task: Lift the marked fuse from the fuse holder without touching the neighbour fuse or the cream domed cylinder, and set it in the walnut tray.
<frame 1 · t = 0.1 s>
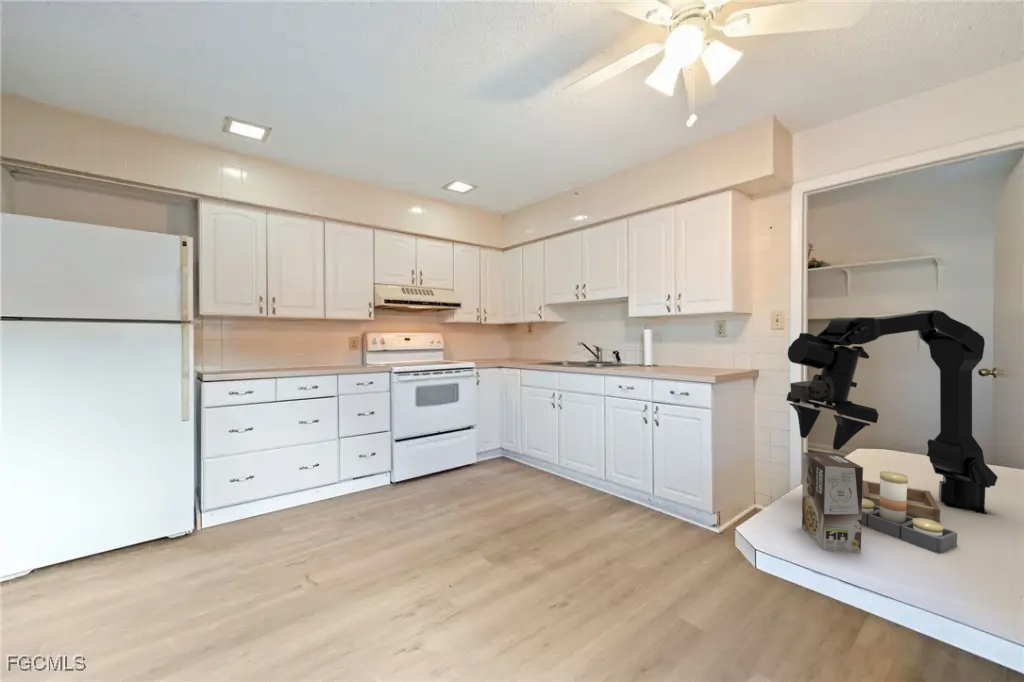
hand: (818, 443, 95), 15 cm above the table, tool pointing down, fingers open, 9 cm apart
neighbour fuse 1: (927, 541, 82), point 1 cm above the table, touching fuse holder
cream domed cylinder 2: (860, 517, 92), point 1 cm above the table, touching fuse holder
walnut tray: (897, 509, 97), on the table
coffee box: (829, 543, 83), on the table
marked fuse: (892, 529, 87), resting on fuse holder
fuse holder: (892, 531, 87), on the table
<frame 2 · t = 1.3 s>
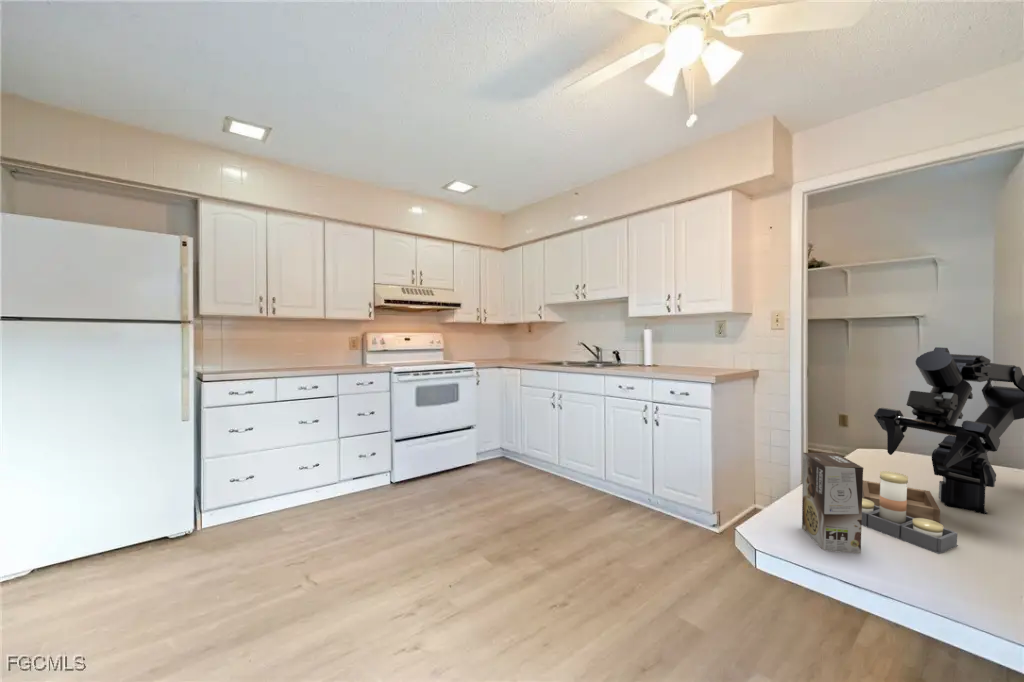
hand: (915, 459, 90), 13 cm above the table, tool tilted 45°, fingers open, 9 cm apart
nothing on the table moved.
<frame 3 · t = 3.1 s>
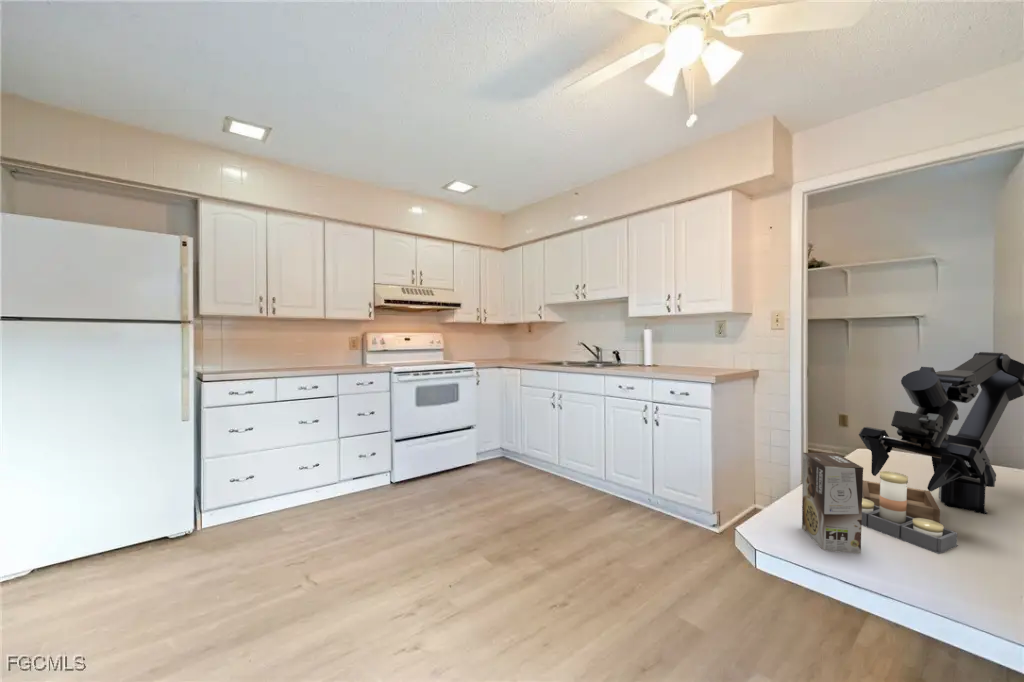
hand: (899, 481, 87), 10 cm above the table, tool tilted 45°, fingers open, 9 cm apart
nothing on the table moved.
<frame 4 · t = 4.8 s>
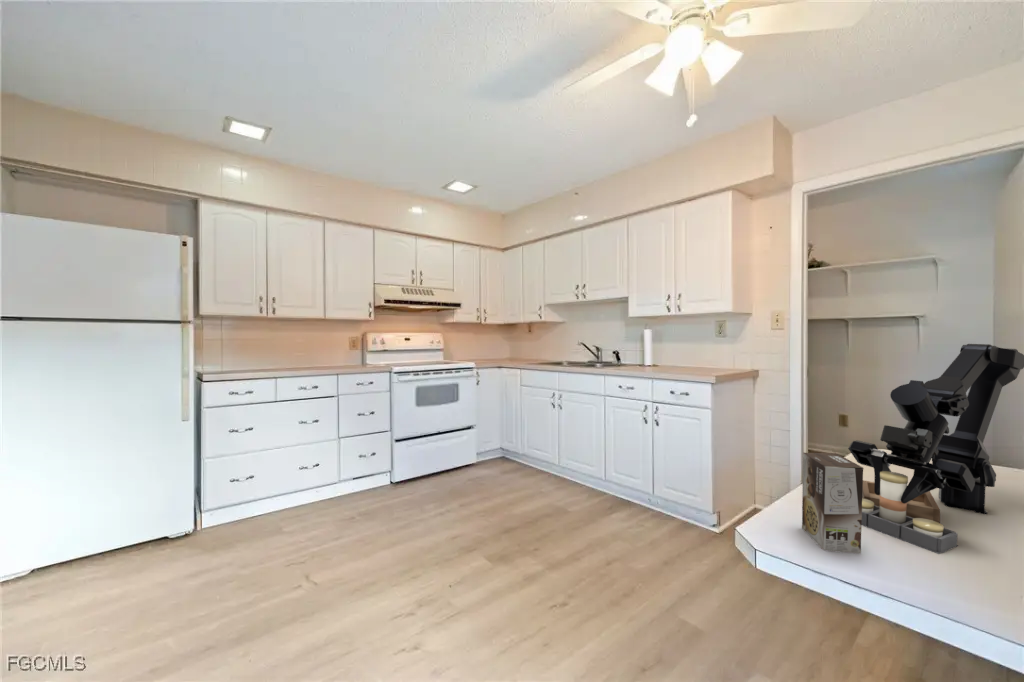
hand: (889, 497, 86), 7 cm above the table, tool tilted 45°, fingers closed on marked fuse, 4 cm apart
marked fuse: (892, 529, 87), point 1 cm above the table, touching fuse holder, gripper
everything else where it was.
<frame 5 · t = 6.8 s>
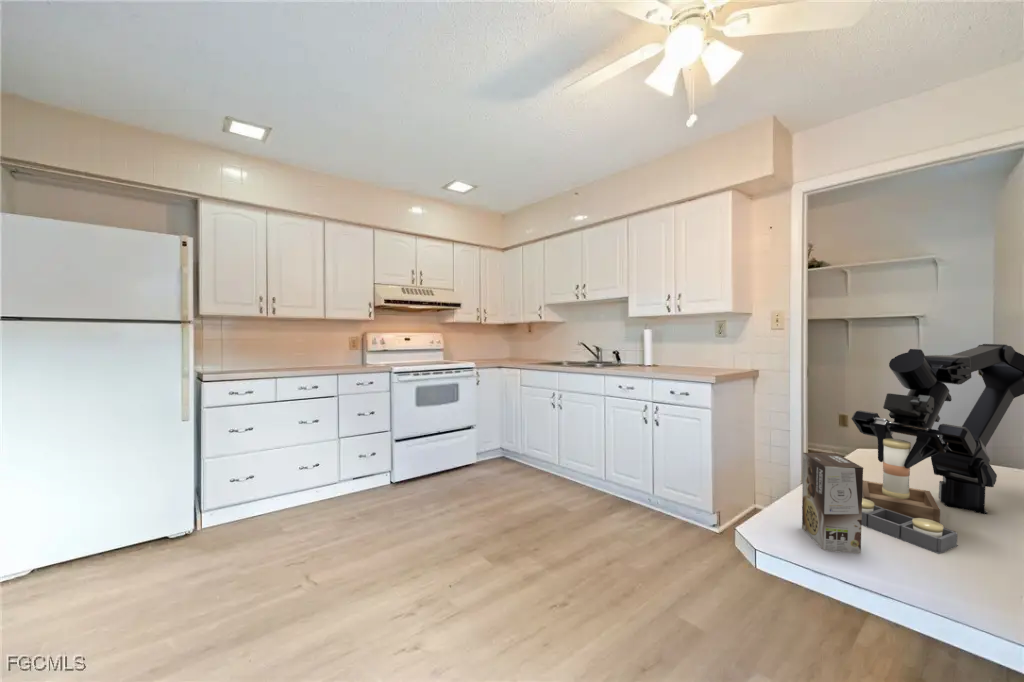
hand: (892, 463, 88), 13 cm above the table, tool tilted 45°, fingers closed on marked fuse, 4 cm apart
marked fuse: (895, 494, 89), point 7 cm above the table, touching gripper
everything else where it was.
when the fingers open (9 cm above the table, at t = 9.2 s): marked fuse stays where it is, resting on walnut tray.
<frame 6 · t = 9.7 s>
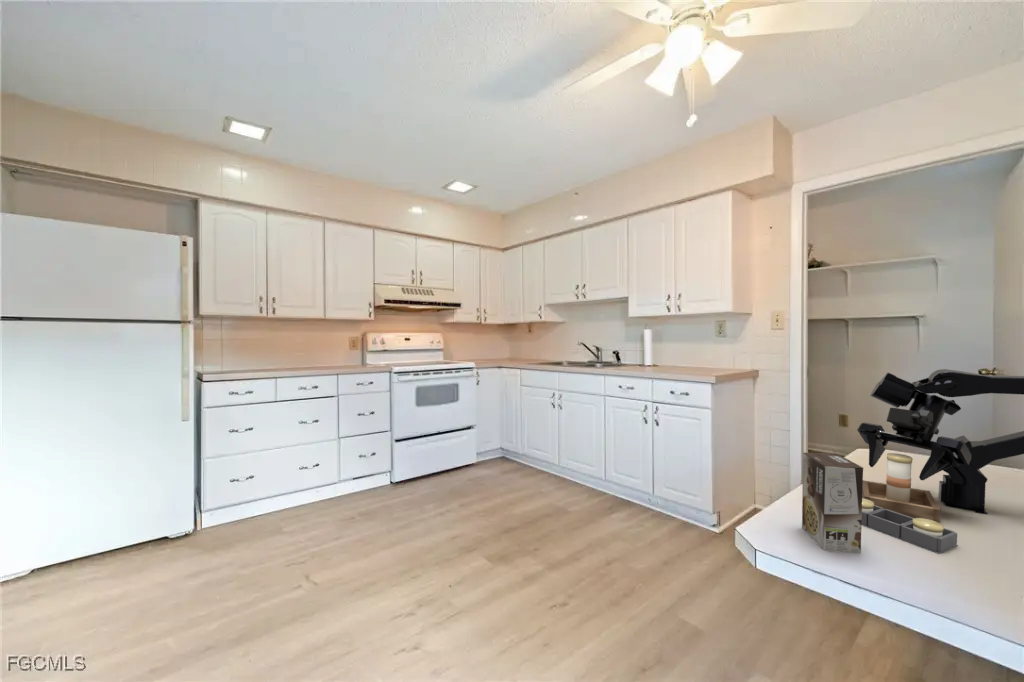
hand: (894, 472, 96), 9 cm above the table, tool tilted 45°, fingers open, 9 cm apart
marked fuse: (897, 504, 97), point 1 cm above the table, touching walnut tray
everything else where it was.
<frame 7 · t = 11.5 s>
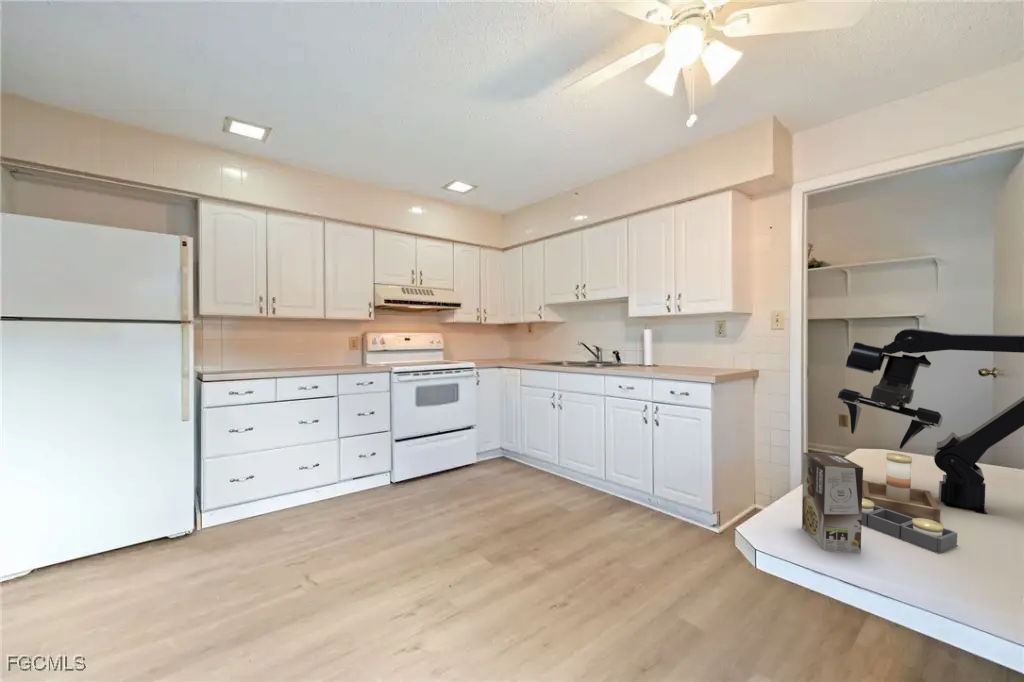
hand: (875, 440, 104), 13 cm above the table, tool tilted 20°, fingers open, 9 cm apart
nothing on the table moved.
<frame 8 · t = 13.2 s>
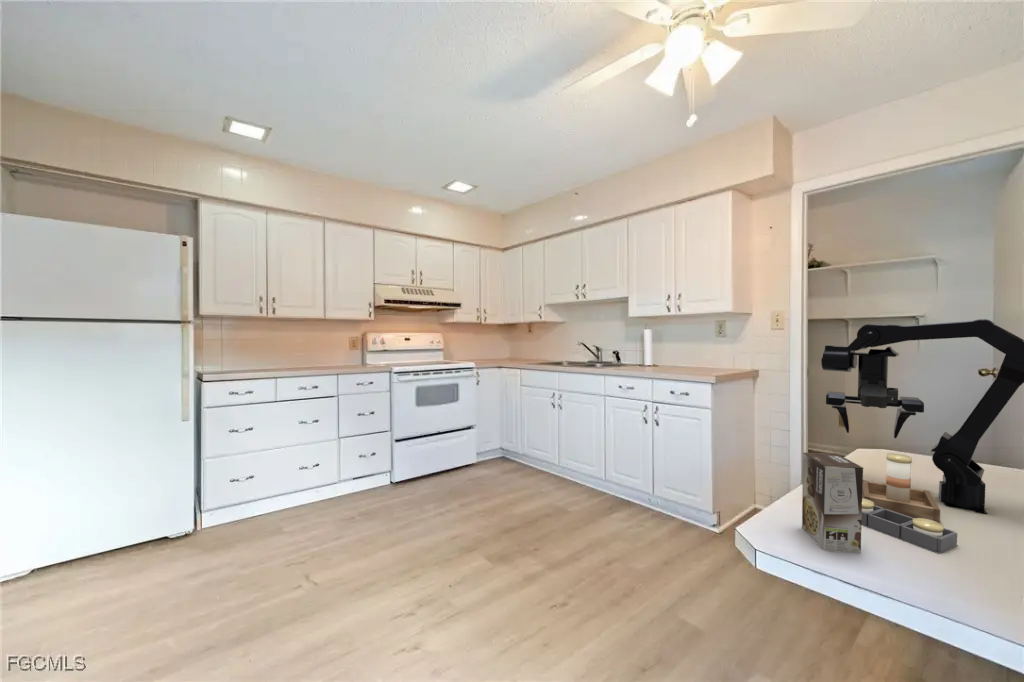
hand: (870, 435, 110), 13 cm above the table, tool pointing down, fingers open, 9 cm apart
nothing on the table moved.
at the end: marked fuse 0.1 cm off-centre on the walnut tray, point 1.0 cm above the walnut tray's base; marked fuse tilted 0°; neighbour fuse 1 moved 0.0 cm from its start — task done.
